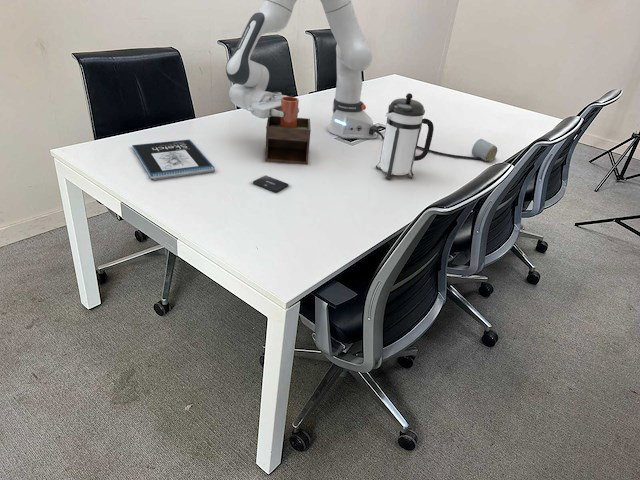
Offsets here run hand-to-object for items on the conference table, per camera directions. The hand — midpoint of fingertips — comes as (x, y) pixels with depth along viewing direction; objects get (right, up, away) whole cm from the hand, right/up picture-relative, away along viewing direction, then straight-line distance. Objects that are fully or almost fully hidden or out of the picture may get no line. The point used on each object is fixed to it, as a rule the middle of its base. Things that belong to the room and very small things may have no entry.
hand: (291, 112), depth 170 cm
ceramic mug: (+81, -12, +29) cm, 86 cm away
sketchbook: (-43, -18, -3) cm, 46 cm away
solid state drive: (-6, -28, -12) cm, 31 cm away
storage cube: (-2, -14, +10) cm, 17 cm away
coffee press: (+40, -21, +7) cm, 46 cm away
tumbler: (-1, -6, +4) cm, 7 cm away
